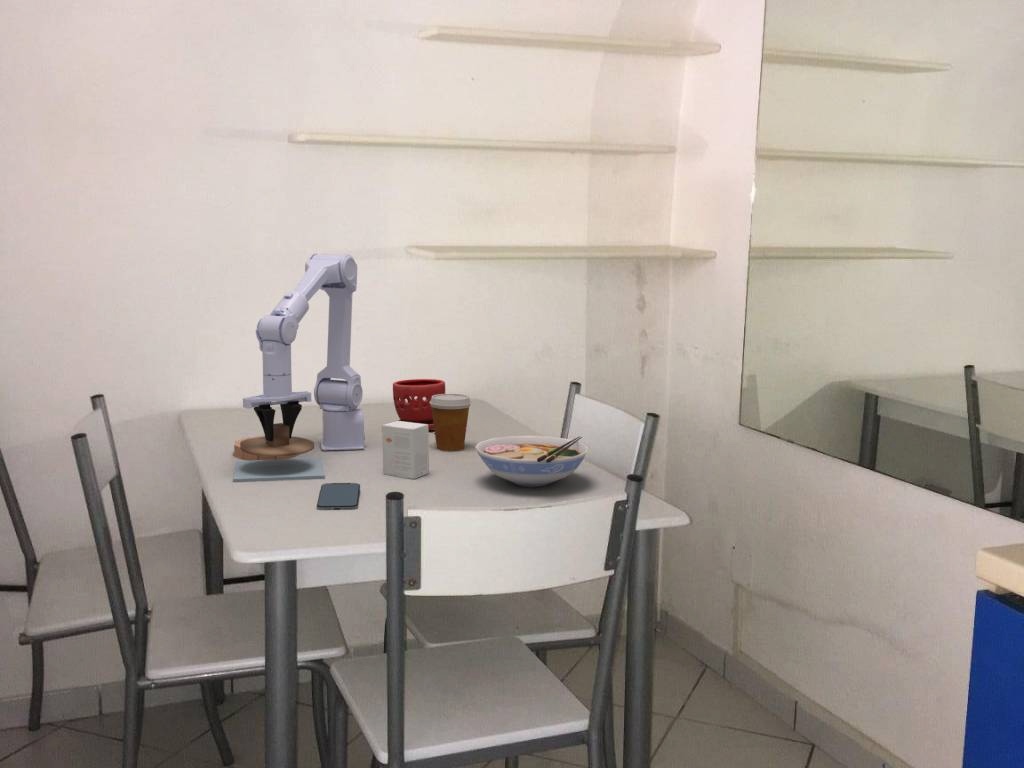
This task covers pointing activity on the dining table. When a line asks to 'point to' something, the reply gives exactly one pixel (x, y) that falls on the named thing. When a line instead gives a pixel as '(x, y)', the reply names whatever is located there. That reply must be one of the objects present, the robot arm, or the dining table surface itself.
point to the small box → (405, 449)
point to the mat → (278, 469)
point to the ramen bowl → (532, 458)
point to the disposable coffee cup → (450, 420)
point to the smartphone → (339, 496)
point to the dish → (247, 456)
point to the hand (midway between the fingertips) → (278, 439)
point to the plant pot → (417, 407)
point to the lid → (277, 444)
